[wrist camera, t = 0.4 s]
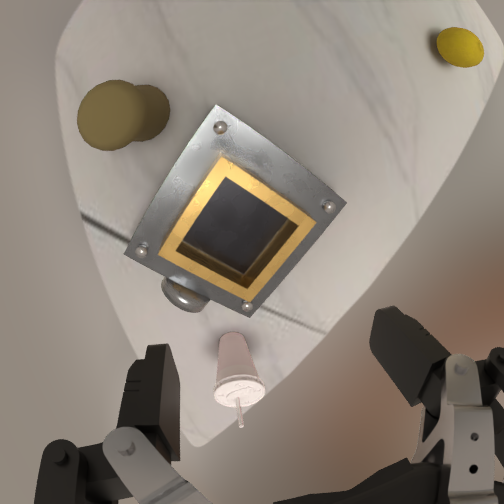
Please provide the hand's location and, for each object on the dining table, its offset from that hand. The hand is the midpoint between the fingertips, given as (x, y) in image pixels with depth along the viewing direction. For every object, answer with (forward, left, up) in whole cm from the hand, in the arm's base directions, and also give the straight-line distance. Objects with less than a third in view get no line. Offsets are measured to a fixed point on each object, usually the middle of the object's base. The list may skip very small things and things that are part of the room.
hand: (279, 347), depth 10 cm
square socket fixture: (+2, +2, -22) cm, 22 cm away
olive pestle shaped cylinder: (-2, -12, -22) cm, 26 cm away
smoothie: (+18, +13, -22) cm, 32 cm away
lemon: (-33, +10, -23) cm, 41 cm away
